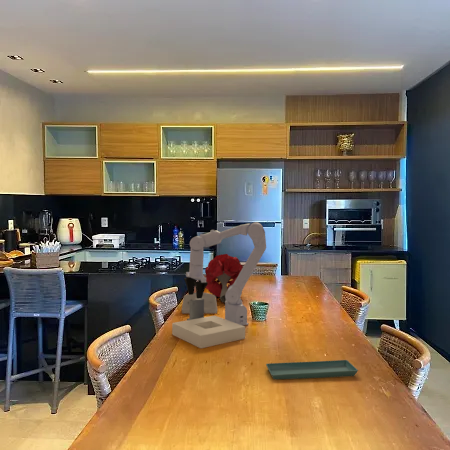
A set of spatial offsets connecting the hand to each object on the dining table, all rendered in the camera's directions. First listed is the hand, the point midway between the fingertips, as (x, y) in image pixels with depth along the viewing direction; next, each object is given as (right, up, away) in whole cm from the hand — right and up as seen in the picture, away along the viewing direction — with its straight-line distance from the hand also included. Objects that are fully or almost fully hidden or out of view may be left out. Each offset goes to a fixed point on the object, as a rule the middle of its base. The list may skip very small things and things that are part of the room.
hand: (195, 296), depth 192 cm
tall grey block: (+1, -11, 0) cm, 11 cm away
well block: (+6, -12, -20) cm, 24 cm away
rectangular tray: (+39, -15, -55) cm, 69 cm away
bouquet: (+12, -9, +50) cm, 52 cm away
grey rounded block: (+1, -10, +19) cm, 22 cm away
